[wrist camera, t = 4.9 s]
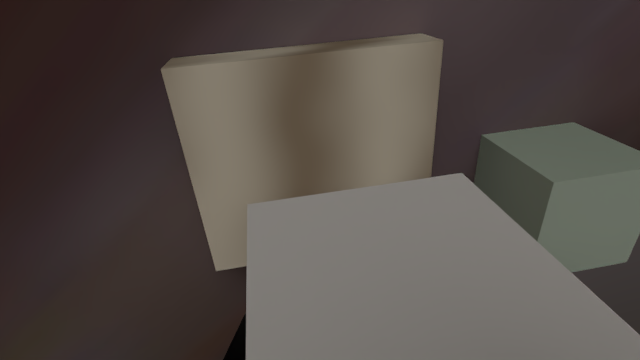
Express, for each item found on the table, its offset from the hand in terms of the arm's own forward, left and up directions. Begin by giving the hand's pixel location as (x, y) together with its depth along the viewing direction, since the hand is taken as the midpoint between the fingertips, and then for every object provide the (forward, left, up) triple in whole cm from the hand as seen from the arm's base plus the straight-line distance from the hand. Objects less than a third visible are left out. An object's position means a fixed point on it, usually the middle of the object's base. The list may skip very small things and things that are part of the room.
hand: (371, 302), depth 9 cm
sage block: (-11, +3, -9) cm, 15 cm away
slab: (0, 0, -9) cm, 9 cm away
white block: (0, 0, -1) cm, 1 cm away
